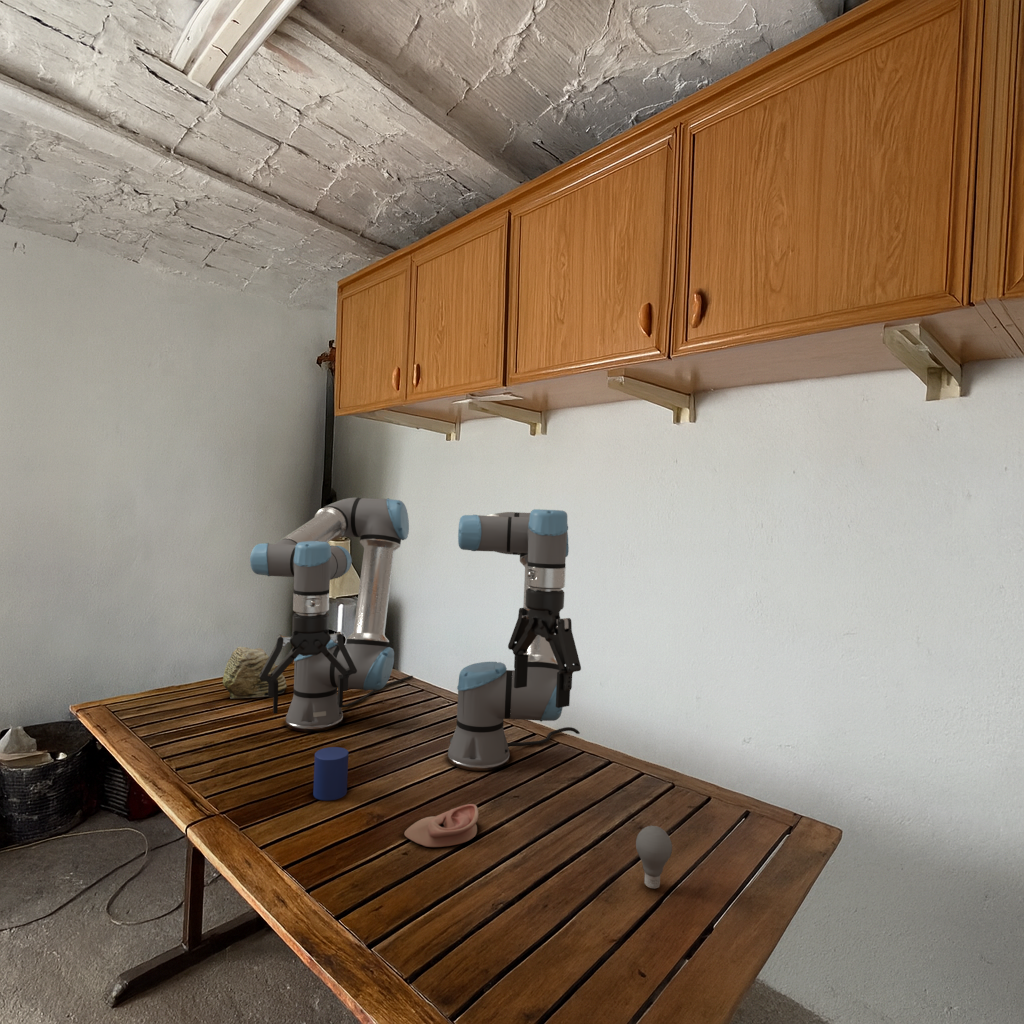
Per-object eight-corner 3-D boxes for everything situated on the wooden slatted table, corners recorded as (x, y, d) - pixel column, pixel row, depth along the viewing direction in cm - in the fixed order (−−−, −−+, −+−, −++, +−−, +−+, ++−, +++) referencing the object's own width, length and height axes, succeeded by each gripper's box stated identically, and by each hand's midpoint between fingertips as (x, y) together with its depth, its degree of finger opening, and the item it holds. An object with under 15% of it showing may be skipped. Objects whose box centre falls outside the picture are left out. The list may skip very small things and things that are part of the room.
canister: (338, 802, 132) (340, 761, 132) (307, 798, 133) (308, 757, 133) (352, 787, 139) (353, 748, 138) (322, 784, 140) (323, 745, 139)
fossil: (218, 695, 195) (220, 647, 195) (278, 685, 208) (279, 640, 207) (228, 703, 189) (230, 653, 188) (289, 692, 201) (290, 645, 201)
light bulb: (629, 875, 110) (632, 818, 110) (663, 875, 110) (666, 818, 110) (639, 897, 104) (642, 837, 104) (675, 897, 104) (678, 837, 104)
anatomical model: (398, 821, 117) (420, 793, 128) (397, 842, 117) (419, 813, 128) (468, 831, 114) (483, 802, 126) (467, 853, 114) (482, 822, 126)
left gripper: (249, 618, 130) (246, 720, 131) (371, 613, 140) (368, 708, 141) (249, 611, 137) (246, 708, 138) (365, 607, 147) (362, 697, 148)
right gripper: (494, 580, 132) (490, 682, 132) (571, 599, 111) (566, 718, 112) (523, 579, 136) (519, 677, 136) (603, 597, 116) (598, 712, 116)
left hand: (308, 708), depth 139 cm, fingers open, 13 cm apart
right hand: (540, 696), depth 124 cm, fingers open, 13 cm apart
